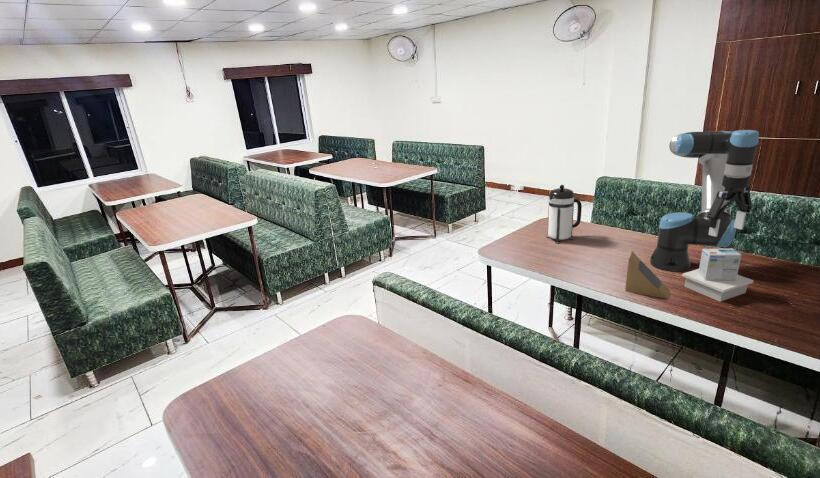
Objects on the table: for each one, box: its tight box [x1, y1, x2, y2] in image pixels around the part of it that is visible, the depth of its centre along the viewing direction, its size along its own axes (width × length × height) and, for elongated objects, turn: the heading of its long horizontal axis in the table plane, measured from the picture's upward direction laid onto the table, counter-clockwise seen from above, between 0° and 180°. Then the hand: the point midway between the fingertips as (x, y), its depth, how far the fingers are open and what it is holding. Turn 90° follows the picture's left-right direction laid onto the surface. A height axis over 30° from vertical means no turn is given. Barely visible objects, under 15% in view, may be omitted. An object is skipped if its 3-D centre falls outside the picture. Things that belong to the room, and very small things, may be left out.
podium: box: [681, 268, 754, 302], centre depth 159 cm, size 16×16×6 cm
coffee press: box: [545, 184, 583, 243], centre depth 218 cm, size 17×16×30 cm
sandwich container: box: [624, 250, 671, 299], centre depth 161 cm, size 9×15×15 cm, turn 58°
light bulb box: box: [698, 247, 742, 280], centre depth 156 cm, size 11×7×11 cm, turn 79°
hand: (725, 232), depth 152 cm, fingers open, 13 cm apart
